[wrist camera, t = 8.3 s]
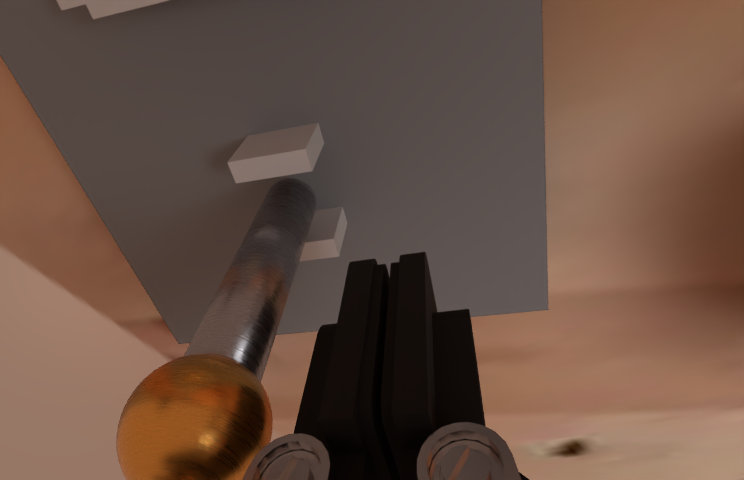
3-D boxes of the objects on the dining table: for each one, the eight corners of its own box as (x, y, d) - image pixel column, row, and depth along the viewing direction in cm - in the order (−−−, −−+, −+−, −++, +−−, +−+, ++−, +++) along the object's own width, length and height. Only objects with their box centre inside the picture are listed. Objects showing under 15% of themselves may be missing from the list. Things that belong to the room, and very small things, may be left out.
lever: (322, 148, 15) (211, 448, 7) (343, 218, 16) (273, 538, 8) (245, 162, 15) (49, 459, 7) (271, 229, 17) (134, 543, 8)
